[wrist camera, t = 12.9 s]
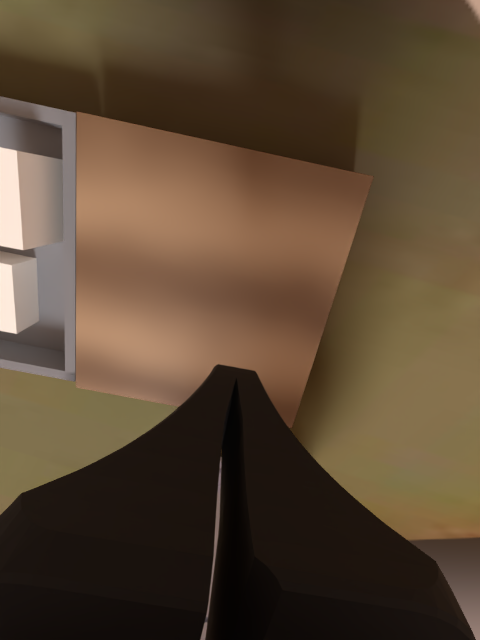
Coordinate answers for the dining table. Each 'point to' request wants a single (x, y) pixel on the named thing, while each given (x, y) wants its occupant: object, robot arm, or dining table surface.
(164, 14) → the dining table surface
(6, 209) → the tile
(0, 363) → the tray
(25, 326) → the tile
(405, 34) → the dining table surface
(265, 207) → the board
